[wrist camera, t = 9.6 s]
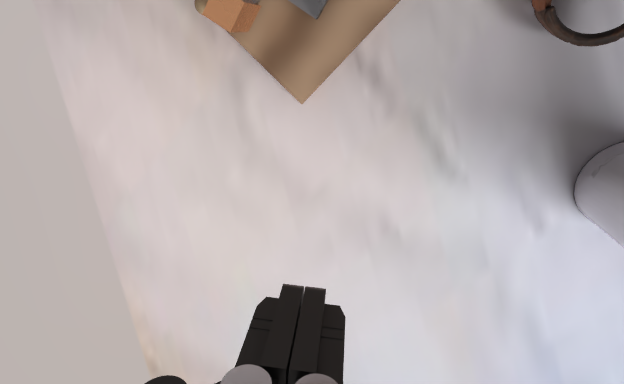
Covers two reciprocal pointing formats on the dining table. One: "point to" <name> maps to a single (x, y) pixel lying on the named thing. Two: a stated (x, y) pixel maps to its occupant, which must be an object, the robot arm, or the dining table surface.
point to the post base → (307, 39)
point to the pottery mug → (556, 28)
